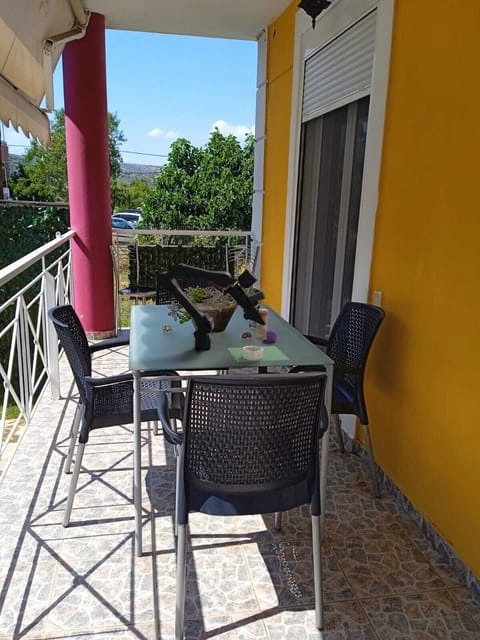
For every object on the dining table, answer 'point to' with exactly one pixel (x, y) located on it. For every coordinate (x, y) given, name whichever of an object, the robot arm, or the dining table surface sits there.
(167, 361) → the dining table surface
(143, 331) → the dining table surface
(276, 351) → the putting mat
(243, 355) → the cup
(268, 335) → the purple faceted ball
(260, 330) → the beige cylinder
